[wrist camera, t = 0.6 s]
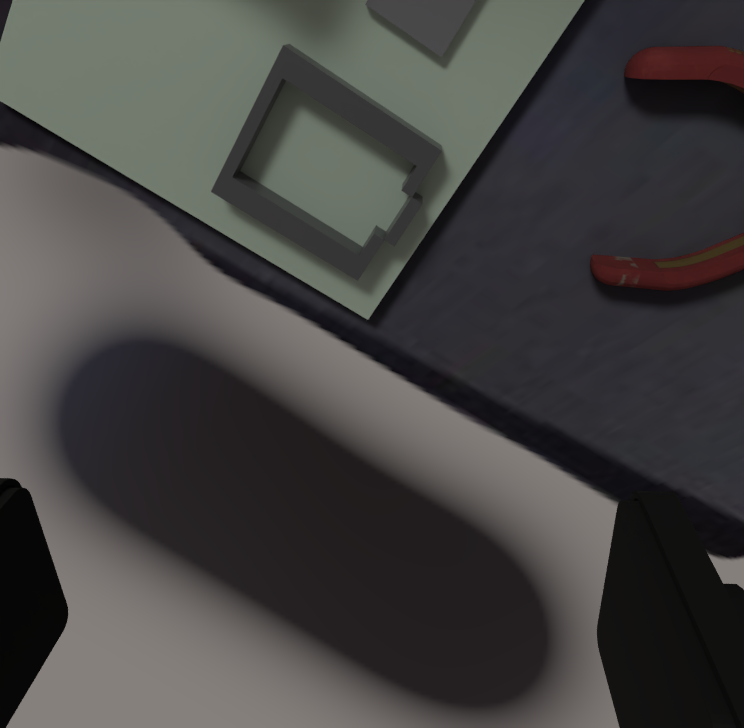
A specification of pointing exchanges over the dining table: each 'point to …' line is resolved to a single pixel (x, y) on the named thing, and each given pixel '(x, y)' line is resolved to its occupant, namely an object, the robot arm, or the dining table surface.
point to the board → (280, 104)
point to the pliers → (712, 261)
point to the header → (357, 112)
